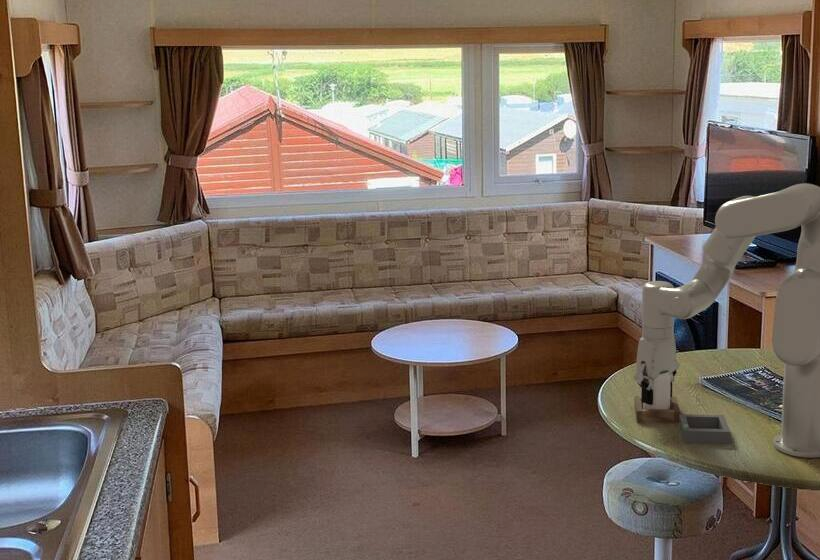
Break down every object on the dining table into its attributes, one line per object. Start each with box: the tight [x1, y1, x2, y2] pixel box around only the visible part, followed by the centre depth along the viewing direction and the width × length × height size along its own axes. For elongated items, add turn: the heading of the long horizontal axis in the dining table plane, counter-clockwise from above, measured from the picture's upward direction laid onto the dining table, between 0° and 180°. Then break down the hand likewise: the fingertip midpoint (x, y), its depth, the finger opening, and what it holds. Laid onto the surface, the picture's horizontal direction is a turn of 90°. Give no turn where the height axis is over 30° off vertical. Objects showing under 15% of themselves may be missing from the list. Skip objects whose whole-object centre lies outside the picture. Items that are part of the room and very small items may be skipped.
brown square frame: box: [633, 395, 681, 424], centre depth 238 cm, size 10×10×3 cm
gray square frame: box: [678, 413, 731, 445], centre depth 225 cm, size 10×10×4 cm
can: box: [644, 370, 670, 410], centre depth 237 cm, size 6×6×12 cm
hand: (656, 399), depth 237 cm, fingers closed on can, 6 cm apart
